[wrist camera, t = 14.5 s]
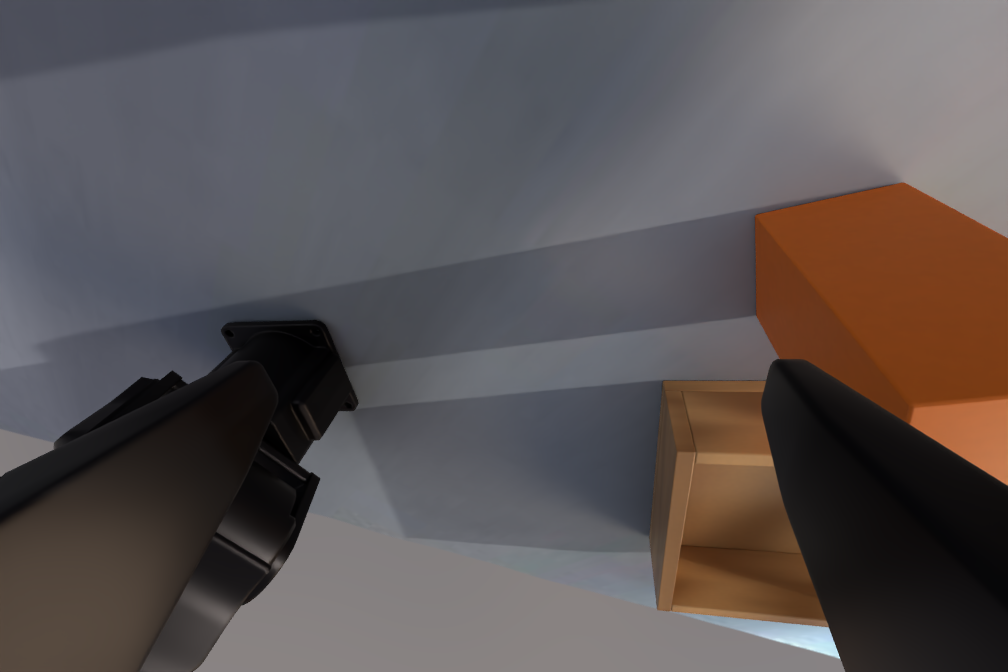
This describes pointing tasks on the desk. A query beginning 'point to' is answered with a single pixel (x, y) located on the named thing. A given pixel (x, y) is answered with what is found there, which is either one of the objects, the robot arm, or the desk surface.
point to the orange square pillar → (896, 310)
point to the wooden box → (723, 511)
